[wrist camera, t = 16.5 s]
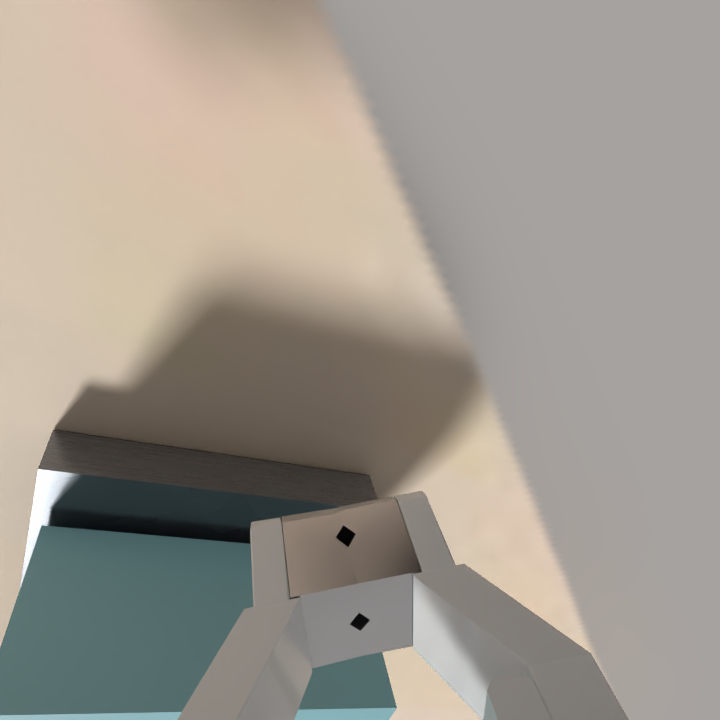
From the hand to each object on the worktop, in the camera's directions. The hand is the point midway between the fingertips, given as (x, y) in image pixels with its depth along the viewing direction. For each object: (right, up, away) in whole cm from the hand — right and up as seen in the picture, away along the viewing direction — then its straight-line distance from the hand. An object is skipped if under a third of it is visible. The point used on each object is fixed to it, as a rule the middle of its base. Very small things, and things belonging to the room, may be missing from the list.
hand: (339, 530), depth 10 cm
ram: (-4, -3, +6) cm, 8 cm away
